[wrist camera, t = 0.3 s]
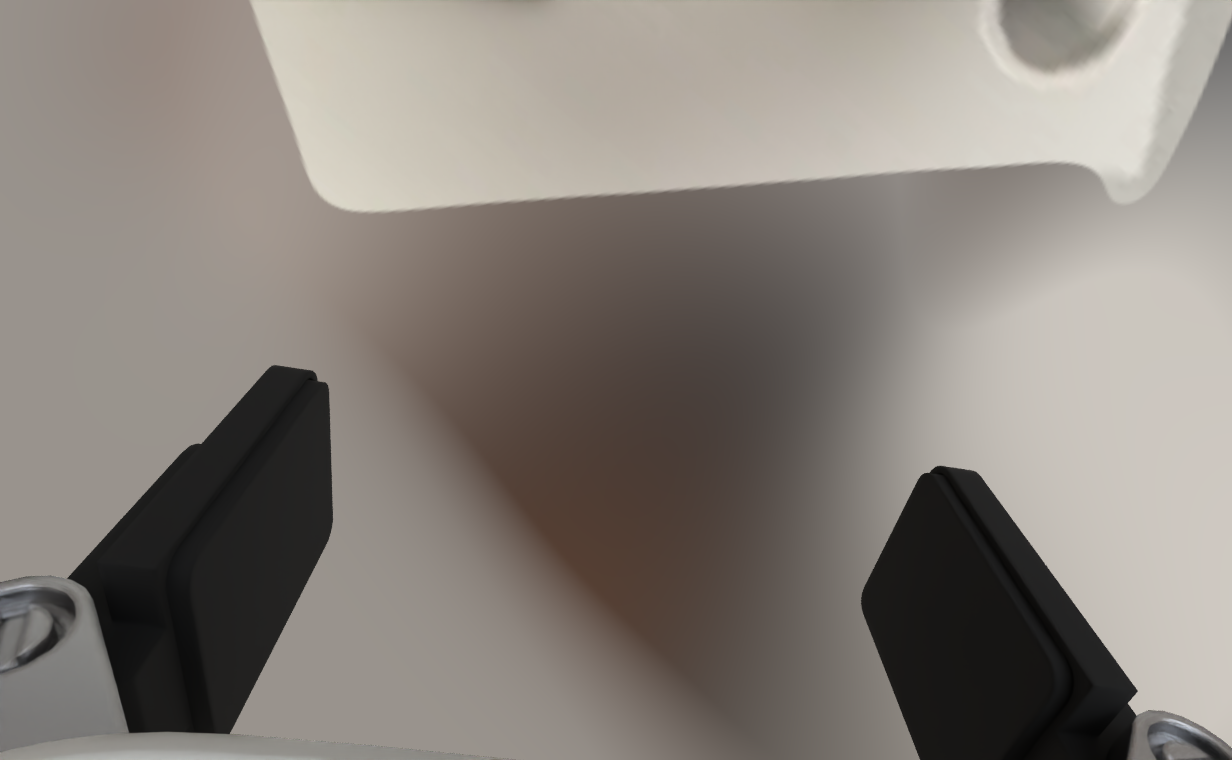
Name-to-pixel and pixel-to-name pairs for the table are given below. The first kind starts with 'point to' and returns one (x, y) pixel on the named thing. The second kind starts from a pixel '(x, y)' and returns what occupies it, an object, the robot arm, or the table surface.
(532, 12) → the table surface
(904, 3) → the table surface
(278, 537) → the robot arm
